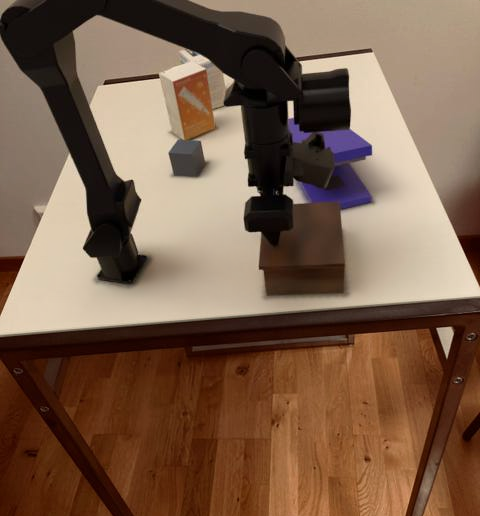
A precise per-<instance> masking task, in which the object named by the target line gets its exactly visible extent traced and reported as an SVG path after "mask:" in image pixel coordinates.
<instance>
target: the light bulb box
mask: <svg viewBox="0 0 480 516" xmlns="http://www.w3.org/2000/svg"><path fill="white" fill-rule="evenodd" d="M178 56H179V60H180V65H182V64H185V63H187V62H190V61H193V62H195V63H197V64H198V65H200V66H202V67H204V68H205V69H206V71H207V78H208V84H209V90H210V97H211V103H212V109H213V110H214V109H218V108H220V107H223V106H224V104H223V103H224V98H225V93H226V90H227V89H226V86H225V85H226V84H225V77H224V73H223V72H221V71H220V70H219V69H218V68H217V67H216V66H215V65H214V64H213V63H212V62H211V61H210V60H208V59H207V58H205V57H203V56H202V55H200V54H198V53H196V52H193V51H191V50H188V49H185V48H184V49H182V50H179V51H178ZM224 107H225V106H224Z"/></svg>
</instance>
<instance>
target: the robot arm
mask: <svg viewBox="0 0 480 516" xmlns="http://www.w3.org/2000/svg"><path fill="white" fill-rule="evenodd" d="M96 16H97V17H102V18H105V19H107V20H110V21H113V22H115V23H118V24H120V25H123V26H125V27H128V28H131V29H134V30H135V31H136V30H137V31H139V32H141V33H143V34H147V35H148V36H151V37H154V38H156V39H160V40H163V41H165V42H167V43H170V44H173V45H175V46H178V47H181V48H183V49H184V50H185V49H188V50H191V51H193V52H196V53H198V54H200V55H202V56H203V57H205V58H207V59H208V60H210V61H211V62H212V63H213V64H214V65H215V66H216V67H217V68H218V69H219V70H220V71H221V72H223V75H225V76H227V77H229V78H230V79H232V80H233V82H232V83H231V84H230V85H229V86H228V88H227V89H225V90H226V93H225V98H224V103H223V104H224V107H227V108H229V107H230V108H231V107H238V106H239V107H240V112H241V120H242V128H243V135H244V149H243V155H244V160H246V162H247V169H248V174H247V187H248V188H251V187H252V188H254V187H256V191H257V194H259V195H252V196H250V197H249V199H247V200H246V201H245V202H244V209H243V210H244V211H243V225H244V230H245V231H246V232H247V233H260V234H261V233H262V234H263V236H264V237H265V238H266V239H267V241H268V242H269V243H270V244H271V245H278V244H279V238H280V233H281V231H289V230H291V229H292V228H293V223H294V211H293V204H294V199H293V198H291V197H290V196H288V195H287V194H286V193H285V194H284V189H285V187H294V186H295V185H294V183H295V181H297V182H298V181H299V182H302V183H306V184H310V185H315V186H316V187H317V188H326V187H327V184H328V182H329V180H330V177H331V175H332V173H333V170H334V168H335V161H334V153H333V152H332V151H331V147H328V148H327V149H326V148H325V140H324V134H322V133H318V132H325V131H338V130H349V129H351V122H352V106H351V100H350V71H349V68H347V67H344V68H336V69H332V70H329V71H319V72H308V73H303V65H302V64H301V62H300V61H299V60H298V58H297V57H296V56H295V55H294V53H293V52H292V51H291V50H290V49H289V48H288V46H287V45H286V35H284V31H283V29H282V27H281V25H280V24H279V23H278V21H276V20H275V19H273V18H272V17H269V16H265V15H261V14H256V13H251V12H245V11H236V10H235V11H228V10H227V11H222V10H216V9H213V8H212V9H211V8H209V7H206V6H204V5H201V4H199V3H196V2H194V1H192V0H14V1H13V3H11V5H9V6H8V7H7V8H6V9H5V10H4V11H3V12H2V13H1V15H0V39H1V42H2V43H3V45H4V47H5V48H6V50H7V51H8V53H9V54H10V56H11V58H12V59H13V61H14V63H15V65H17V68H18V69H19V70H20V72H22V73H23V74H24V75H25V76H26V77H27V78H28V79H30V81H32V82H33V83H34V84H35V85H36V86H37V87H38V88H39V89H40V91H41V92H42V95H43V98H44V99H45V102H46V104H47V106H48V108H49V111H50V113H51V116H52V117H53V119H54V121H55V124H56V126H57V128H58V131H59V133H60V135H61V137H62V139H63V142H64V144H65V146H66V148H67V150H68V153H69V155H70V157H71V159H72V162H73V164H74V166H75V169H76V171H77V173H78V176H79V178H80V180H81V183H82V184H83V186H84V187H83V188H84V190H85V198H86V199H85V202H86V215H87V220H88V223H89V227H90V230H89V232H88V234H87V237H86V239H85V241H84V244H83V245H82V250H83V251H84V252H85V254H87V256H88V257H89V258H91V259H96V260H97V262H98V265H99V268H100V271H99V272H98V273H97V275H96V278H97V279H98V280H101V281H108V282H113V283H121V284H128V285H130V284H133V283H134V282H135V280H136V278H137V277H138V275H139V273H140V272H141V270H142V268H143V267H144V266H145V264H146V262H147V261H148V256H147V255H146V254H139V249H138V247H137V244H136V241H135V238H134V235H133V233H132V230H133V227H134V225H135V222H136V219H137V216H138V213H139V210H140V205H141V203H142V198H141V197H140V196H139V195H138V192H137V190H136V185H135V181H134V180H133V179H127V180H124V179H122V178H121V177H120V176H119V175H118V174H117V172H116V171H115V168H114V166H113V163H112V160H111V158H110V156H109V153H108V150H107V148H106V144H105V143H104V140H103V138H102V135H101V133H100V130H99V127H98V125H97V122H96V119H95V116H94V115H93V111H92V109H91V106H90V103H89V101H88V99H87V96H86V93H85V91H84V88H83V86H82V83H81V81H80V78H79V75H78V69H77V51H76V39H75V34H74V31H75V30H77V29H78V28H79V27H81V26H82V25H83V24H85V23H87V22H88V21H90V20H92V19H93V18H94V17H96ZM289 102H292V106H293V107H292V108H293V118H294V125H299V131H304V133H311V132H313V133H312V134H311V135H310V136H309V137H308V138H307V139H306V140H302V142H301V143H297V142H293V135H292V133H290V130H289V119H290V118H289V117H290V116H289ZM294 180H295V181H294ZM299 182H298V183H299Z"/></svg>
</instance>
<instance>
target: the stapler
mask: <svg viewBox="0 0 480 516" xmlns="http://www.w3.org/2000/svg"><path fill="white" fill-rule="evenodd" d="M289 130H290V133H292V135H293V142H297V143H301V142H302V140H306V139H307V138H308V137H309V136H310V135H311V134H312V133H313V132H311V133H304V131H299V125H294V117H291V118H289ZM318 133H322V134H324V140H325V148H326V149H327V148H328V147H331V151H332V152H333V153H334V161H335V168H334V170H333V173H332V175H331V177H330V180H329V182H328V184H327V187H326V188H317V187H316V186H315V185H310V184H306V183H302V182H299V181H297V182H298V185H299V186H300V188H301V190H302V192H303V194H304V195H305V198H306V200H307V202H308V203H319V202H337V201H339V202H340V210H343V209H348V208H352V207H356V206H362V205H367V204H369V203H372V195H371V194H370V192H369V190H368V188H366V186H365V185H364V183H363V182H362V180H361V179H360V177H359V176H358V174H357V173H356V171H355V170H354V168H353V167H352V166H351V163H356V162H361V161H365V160H367V157H371V156H373V145H372V144H371V143H370V142H369V141H367V140H366V139H364V138H363V137H362V136H360V135H359V134H358V133H356V132H355V131H354V130H353V129H351V128H350V129H349V130H338V131H325V132H318Z"/></svg>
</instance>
